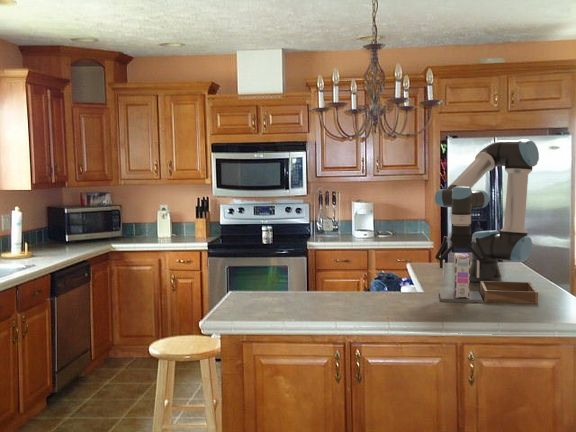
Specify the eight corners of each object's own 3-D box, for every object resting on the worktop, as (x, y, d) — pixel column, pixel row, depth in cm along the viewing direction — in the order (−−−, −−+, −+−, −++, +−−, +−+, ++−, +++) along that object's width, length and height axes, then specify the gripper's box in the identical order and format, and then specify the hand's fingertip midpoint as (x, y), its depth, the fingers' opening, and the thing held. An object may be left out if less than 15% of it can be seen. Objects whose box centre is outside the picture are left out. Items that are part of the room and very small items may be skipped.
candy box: (469, 298, 258) (470, 257, 256) (454, 298, 259) (455, 257, 257) (467, 291, 271) (468, 252, 270) (453, 291, 272) (453, 252, 271)
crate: (480, 291, 277) (480, 281, 277) (529, 293, 273) (529, 282, 273) (484, 301, 258) (484, 290, 257) (537, 303, 253) (538, 292, 253)
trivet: (439, 293, 275) (439, 290, 275) (479, 294, 271) (479, 291, 271) (440, 301, 259) (440, 298, 259) (482, 302, 256) (482, 299, 256)
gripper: (429, 225, 261) (429, 277, 263) (494, 226, 256) (493, 279, 258) (429, 223, 269) (429, 274, 271) (492, 224, 264) (491, 275, 266)
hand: (460, 276), depth 264 cm, fingers open, 13 cm apart
